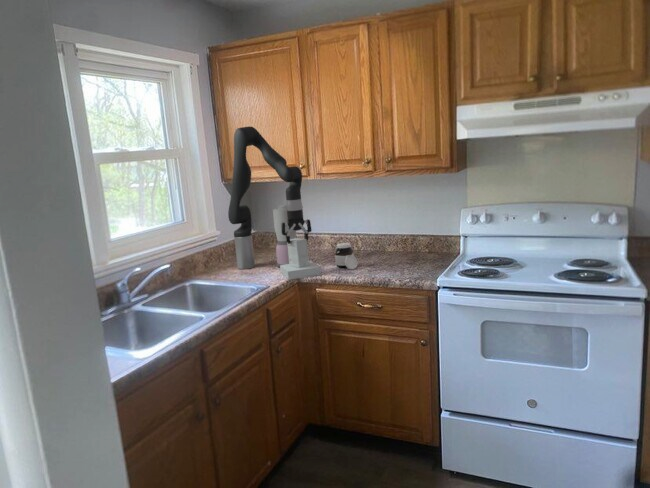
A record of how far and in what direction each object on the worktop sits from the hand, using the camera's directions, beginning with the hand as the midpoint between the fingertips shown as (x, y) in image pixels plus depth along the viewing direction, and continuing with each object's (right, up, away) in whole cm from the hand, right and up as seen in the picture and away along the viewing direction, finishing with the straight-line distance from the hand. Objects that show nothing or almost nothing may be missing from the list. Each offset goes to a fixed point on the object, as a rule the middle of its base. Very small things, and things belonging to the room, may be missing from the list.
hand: (297, 242), depth 236 cm
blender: (-4, -13, +22) cm, 25 cm away
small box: (+1, -12, +3) cm, 12 cm away
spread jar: (+25, -13, +8) cm, 29 cm away
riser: (+1, -15, +3) cm, 16 cm away
